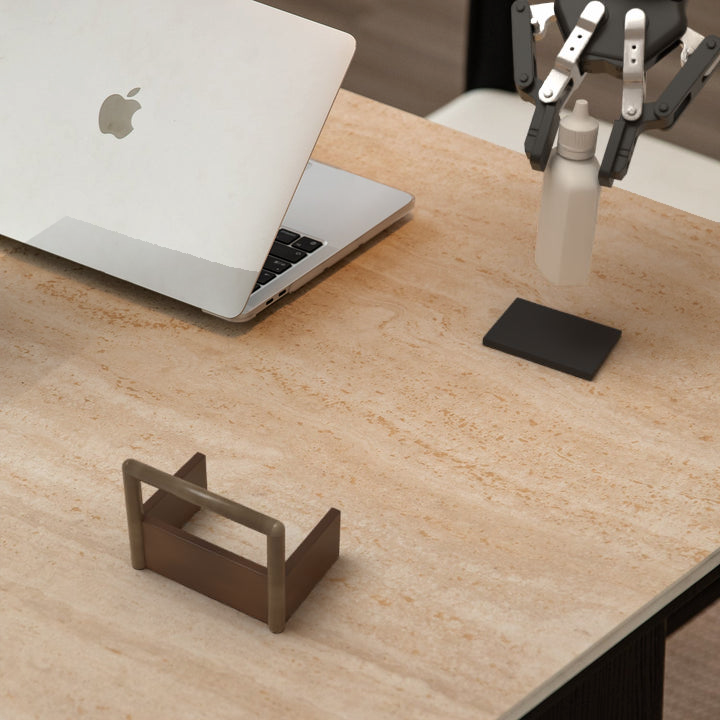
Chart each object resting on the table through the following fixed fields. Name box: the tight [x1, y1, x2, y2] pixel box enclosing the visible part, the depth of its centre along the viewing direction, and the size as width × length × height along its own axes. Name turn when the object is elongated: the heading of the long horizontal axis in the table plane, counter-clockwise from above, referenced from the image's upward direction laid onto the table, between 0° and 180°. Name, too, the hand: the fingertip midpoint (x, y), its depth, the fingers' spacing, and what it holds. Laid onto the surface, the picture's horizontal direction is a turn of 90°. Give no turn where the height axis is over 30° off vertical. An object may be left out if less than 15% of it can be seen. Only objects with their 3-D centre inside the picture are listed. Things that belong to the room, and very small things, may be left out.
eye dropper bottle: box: [534, 98, 603, 289], centre depth 80 cm, size 4×6×12 cm
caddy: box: [121, 451, 342, 634], centre depth 66 cm, size 10×7×7 cm
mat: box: [481, 297, 623, 382], centre depth 86 cm, size 8×6×1 cm
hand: (570, 173), depth 77 cm, fingers closed on eye dropper bottle, 3 cm apart
